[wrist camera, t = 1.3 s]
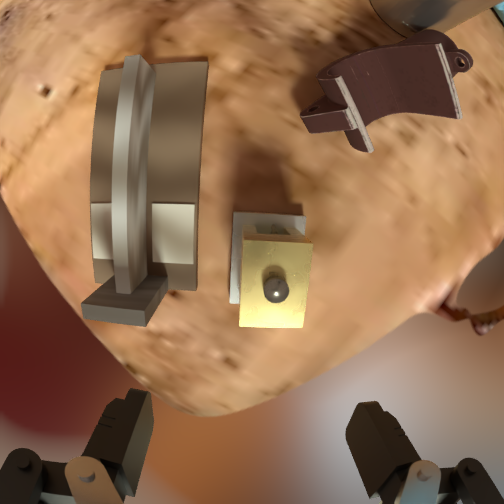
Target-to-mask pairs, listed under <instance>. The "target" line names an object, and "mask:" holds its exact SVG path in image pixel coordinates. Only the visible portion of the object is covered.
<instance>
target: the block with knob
mask: <svg viewBox="0 0 504 504" xmlns="http://www.w3.org/2000/svg"><path fill="white" fill-rule="evenodd" d="M312 251H313V243H312V242H311V241H310V240H309V239H308V238H306V237H305V236H304V235H303V234H302V233H301V232H300V231H299V230H298V229H296V228H290V227H284V233H283V235H279V234H260V233H257V230H256V227H255V225H243V230H242V248H241V268H240V288H239V326H241V327H278V328H302V327H303V320H304V314H305V307H306V299H307V292H308V284H309V276H310V268H311V260H312Z"/></svg>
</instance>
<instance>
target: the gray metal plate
mask: <svg viewBox="0 0 504 504" xmlns="http://www.w3.org/2000/svg"><path fill="white" fill-rule="evenodd" d="M305 224H306V216H304V215H294V214H280V213H263V212H245V211H234V214H233V234H232V257H231V281H230V303H235V304H239V288H240V268H241V248H242V230H243V225H255V227H256V230H257V233H260V234H279V235H283V233H284V227H290V228H296V229H298V230H299V231H300V232H301V233H302V234H303V235H305Z"/></svg>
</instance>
